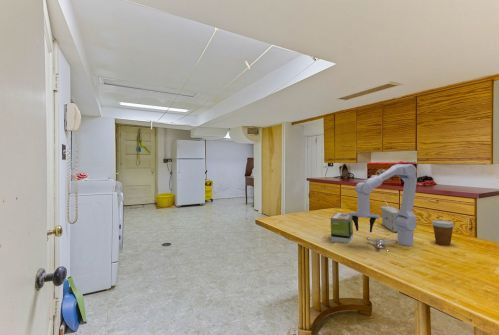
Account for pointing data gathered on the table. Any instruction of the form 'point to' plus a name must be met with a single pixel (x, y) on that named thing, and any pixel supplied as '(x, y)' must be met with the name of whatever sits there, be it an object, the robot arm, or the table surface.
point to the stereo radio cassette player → (389, 217)
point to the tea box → (341, 228)
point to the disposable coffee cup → (443, 231)
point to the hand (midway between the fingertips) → (364, 231)
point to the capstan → (380, 243)
